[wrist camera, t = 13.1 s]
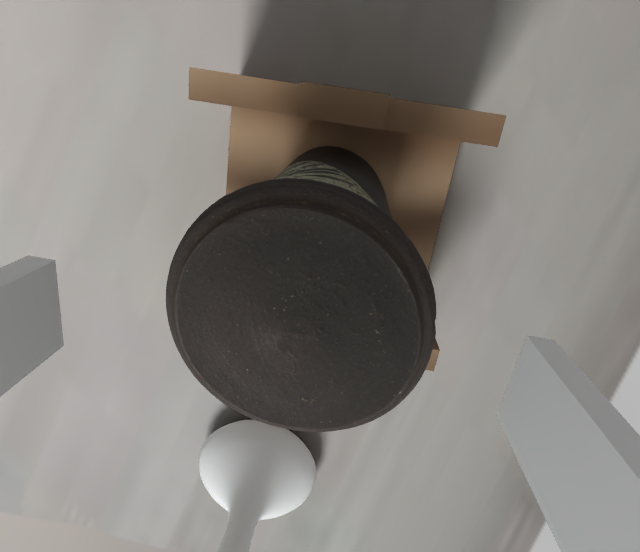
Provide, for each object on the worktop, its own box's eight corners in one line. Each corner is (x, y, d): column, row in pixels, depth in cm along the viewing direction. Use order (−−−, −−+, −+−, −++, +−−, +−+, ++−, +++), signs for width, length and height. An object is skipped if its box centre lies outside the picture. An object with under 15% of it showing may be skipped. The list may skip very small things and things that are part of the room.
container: (364, 122, 29) (377, 129, 10) (408, 239, 31) (482, 415, 13) (253, 172, 31) (92, 256, 12) (303, 279, 33) (235, 484, 15)
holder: (238, 82, 30) (169, 61, 19) (461, 116, 30) (524, 115, 18) (226, 276, 35) (166, 348, 24) (414, 307, 35) (440, 394, 24)
